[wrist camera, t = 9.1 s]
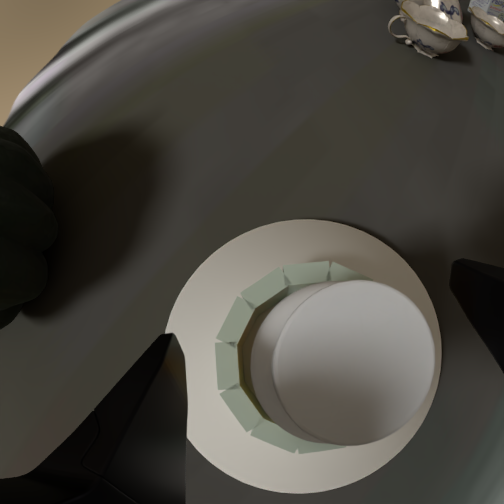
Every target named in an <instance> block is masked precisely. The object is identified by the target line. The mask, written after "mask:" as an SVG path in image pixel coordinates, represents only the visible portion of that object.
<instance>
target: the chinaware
mask: <svg viewBox="0 0 504 504" xmlns="http://www.w3.org/2000/svg"><path fill="white" fill-rule="evenodd" d="M395 2H396V4H397V5H398V7H399V8H400V10H399V14H400V15H398V16H394V17H393V18H392V19H391V20H390V21H389V24H388V30H389V32H390V34H391V35H392V36H394V37H396V38H402V37H406V38H408V39H406V40H405V42H406V44H407V45H411V44H412V41H413V42H414V43H415V44H412V45H413V46H414V47H415V48H416V50H417V52H419V53H422V54H424V55H426V56H429V57H430V58H432V57H435V56H438V55H437V54H444V53H448V52H450V51H452V50H454V49H455V48H456V47H457V46H458V45H459V44H460V43H461V42H462V41H464V42H467V41H468V39H469V37H468V36H467V29H466V28H465V26H464V25H463V24H462V21H463V15H462V11H461V8H460V5H459V1H458V0H395ZM468 9H469V11H470V12H471V25H472V29H473V31H474V33H475V35H476V36H477V37H478V38H476V37H475V38H476V40H477V42H478V43H479V44H481V45H482V46H483V47H485V48H486V49H489V50H492V48H491V47H493V48H502V47H504V23H503V22H502V21H501V20H500V19H499V18H497V17H495V16H491V15H487V13H486V12H485V11H484V10H482V9H481V8H479V7H475V6H474V7H472V8H471V7H469V8H468ZM398 18H400V19H401V21H402V22H404V26H405V29H406V32H407V34H408V35H409V37H408V36H406V35H394V34H393V33H392V31H391V25H392V23H393V22H394V21H395V20H396V19H398ZM403 18H404V19H403ZM492 51H493V50H492Z"/></svg>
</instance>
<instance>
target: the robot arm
mask: <svg viewBox="0 0 504 504" xmlns="http://www.w3.org/2000/svg"><path fill="white" fill-rule="evenodd" d="M449 286H450V289H451V291H452V293H453V294H454V296H455V298H456V299H457V301H458V302H459V304H460V306H461V308H462V309H463V311H464V313H465V314H466V316H467V318H468V319H469V321H470V323H471V324H472V326H473V327H474V329H475V330H476V332H477V333H478V334H479V336H480V337H481V339H482V340H483V342H484V343H485V345H486V346H487V348H488V349H489V351H490V352H491V354H492V355H493V357H494V359H495V360H496V362H497V363H498V365H499V366H500V368H501V370H502V371H503V373H504V268H501V267H497V266H493V265H489V264H485V263H480V262H476V261H472V260H468V259H464V258H462V259H458V260H456V261H454V262H453V263H452V265H451V273H450V280H449ZM187 418H188V394H187V380H186V363H185V356H184V353H183V350H182V348H181V346H180V344H179V341H178V339H177V337H176V335H175V334H174V333H166V334H161V335H160V336H159V337H158V338H157V339H156V340H155V341H154V342H153V343H152V344H151V346H150V347H149V348H148V349H147V350H146V351H145V352H144V353H143V355H142V356H141V357H140V358H139V359H138V360H137V361H136V362H135V363H134V365H133V366H132V367H131V368H130V369H129V370H128V371H127V372H126V374H125V375H124V376H123V377H122V378H121V379H120V380H119V382H118V383H117V384H116V385H115V386H114V387H113V388H112V389H111V391H110V392H109V393H108V394H107V395H106V396H105V397H104V398H103V400H102V401H101V402H100V403H99V404H98V405H97V406H96V408H95V409H94V411H92V412H91V413H90V414H89V415H88V417H87V418H86V419H85V420H84V421H83V422H82V423H81V424H80V425H79V427H78V428H77V429H76V430H75V431H74V432H73V433H72V434H71V435H70V436H69V437H68V438H67V439H66V440H65V441H64V442H63V443H62V444H61V445H60V446H59V447H57V448H56V449H55V450H54V451H53V452H52V453H51V454H50V455H49V456H48V457H47V458H46V459H45V460H44V461H43V462H42V463H41V464H40V465H38V466H37V467H36V468H35V469H34V470H32V471H31V472H29V473H27V474H25V475H22V476H19V477H13V478H5V479H0V504H185V490H186V443H187Z"/></svg>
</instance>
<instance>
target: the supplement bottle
mask: <svg viewBox="0 0 504 504" xmlns="http://www.w3.org/2000/svg"><path fill="white" fill-rule="evenodd" d="M434 369H435V346H434V340H433V336H432V333H431V330H430V327H429V325H428V322H427V321H426V319H425V317H424V315H423V314H422V312H421V311H420V310H419V308H418V307H417V306H416V304H415V303H414V302H413V301H411V300H410V299H409V298H408V297H407V296H406V295H404V294H403V293H402V292H400V291H398V290H397V289H395V288H393V287H391V286H388V285H386V284H383V283H379V282H376V281H370V280H349V281H327V282H320V283H316V284H312V285H309V286H306V287H303V288H301V289H299V290H297V291H295V292H293V293H292V294H290V295H289V296H287V297H286V298H284V299H283V300H282V301H281V302H279V303H278V304H277V305H276V306H275V307H274V308H273V309H272V311H271V312H270V313H269V314H268V315H267V317H266V318H265V320H264V321H263V323H262V324H261V326H260V328H259V330H258V332H257V335H256V337H255V340H254V344H253V348H252V352H251V369H250V370H251V378H252V384H253V387H254V390H255V394H256V396H257V398H258V401H259V403H260V404H261V406H262V408H263V409H264V411H265V412H266V413H267V415H268V416H269V417H270V418H271V419H272V420H273V421H274V422H275V423H276V424H277V425H278V426H280V427H281V428H282V429H283V430H285V431H287V432H288V433H290V434H291V435H294V436H296V437H298V438H301V439H303V440H306V441H310V442H315V443H324V444H334V445H339V446H359V445H364V444H369V443H372V442H375V441H378V440H381V439H383V438H385V437H387V436H389V435H391V434H393V433H394V432H396V431H397V430H399V429H400V428H401V427H403V426H404V425H405V424H406V423H407V422H408V421H409V420H410V419H411V418H412V417H413V416H414V415H415V414H416V412H417V411H418V409H419V408H420V407H421V405H422V404H423V402H424V400H425V398H426V396H427V394H428V392H429V389H430V387H431V384H432V380H433V376H434Z"/></svg>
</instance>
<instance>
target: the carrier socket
mask: <svg viewBox="0 0 504 504" xmlns="http://www.w3.org/2000/svg"><path fill="white" fill-rule="evenodd" d="M349 280H370V281H376V282H379V283H383V284H386V285H388V286H391V287H393V288H395V289H397V290H398V291H400V292H402V293H403V294H404V295H406V296H407V297H408V298H409V299H410V300H411V301H413V302H414V303H415V304H416V306H417V307H418V308H419V310H420V311H421V312H422V314H423V315H424V317H425V319H426V321H427V322H428V325H429V327H430V330H431V333H432V336H433V340H434V346H435V369H434V376H433V380H432V384H431V387H430V389H429V392H428V394H427V396H426V398H425V400H424V402H423V404H422V405H421V407H420V408H419V409H418V411H417V412H416V414H415V415H414V416H413V417H412V418H411V419H410V420H409V421H408V422H407V423H406V424H405V425H404V426H403V427H401V428H400V429H399V430H397V431H396V432H394V433H393V434H391V435H389V436H387V437H385V438H383V439H381V440H378V441H375V442H372V443H369V444H364V445H359V446H339V445H334V444H324V443H315V442H310V441H306V440H303V439H301V438H298V437H296V436H294V435H291V434H290V433H288V432H287V431H285V430H283V429H282V428H281V427H280V426H278V425H277V424H276V423H275V422H274V421H273V420H272V419H271V418H270V417H269V416H268V415H267V413H266V412H265V411H264V409H263V408H262V406H261V404H260V403H259V401H258V398H257V396H256V394H255V390H254V387H253V384H252V378H251V370H250V369H251V352H252V348H253V344H254V340H255V337H256V335H257V332H258V330H259V328H260V326H261V324H262V323H263V321H264V320H265V318H266V317H267V315H268V314H269V313H270V312H271V311H272V309H273V308H274V307H275V306H276V305H277V304H278V303H279V302H281V301H282V300H283V299H284V298H286V297H287V296H289V295H290V294H292V293H293V292H295V291H297V290H299V289H301V288H303V287H306V286H309V285H312V284H316V283H320V282H327V281H349ZM166 333H174V334H175V335H176V337H177V339H178V341H179V344H180V346H181V348H182V350H183V353H184V356H185V363H186V380H187V394H188V418H187V438H188V439H189V440H190V442H191V443H192V444H193V445H194V447H195V448H196V449H197V450H198V451H199V452H200V453H201V454H202V455H203V456H204V457H205V458H206V459H207V460H208V461H209V462H211V463H212V464H213V465H215V466H216V467H217V468H219V469H220V470H222V471H223V472H225V473H226V474H228V475H230V476H232V477H234V478H236V479H237V480H239V481H241V482H244V483H246V484H249V485H252V486H255V487H258V488H261V489H265V490H270V491H275V492H282V493H298V494H300V493H314V492H321V491H326V490H331V489H336V488H339V487H342V486H345V485H348V484H350V483H353V482H356V481H358V480H360V479H362V478H364V477H366V476H368V475H369V474H371V473H373V472H374V471H376V470H377V469H379V468H380V467H382V466H383V465H385V464H386V463H387V462H389V461H390V460H391V459H392V458H393V457H394V456H395V455H397V454H398V453H399V452H400V451H401V450H402V449H403V448H404V447H405V445H406V444H407V443H408V442H409V441H410V440H411V438H412V437H413V436H414V434H415V433H416V432H417V430H418V429H419V427H420V425H421V424H422V422H423V421H424V419H425V417H426V415H427V413H428V411H429V409H430V407H431V404H432V401H433V399H434V396H435V393H436V390H437V386H438V381H439V376H440V371H441V357H442V348H441V335H440V329H439V324H438V319H437V316H436V313H435V310H434V307H433V304H432V301H431V299H430V297H429V295H428V293H427V291H426V289H425V287H424V285H423V284H422V282H421V281H420V279H419V278H418V276H417V275H416V273H415V272H414V271H413V270H412V268H411V267H410V266H409V265H408V264H407V263H406V262H405V260H404V259H403V258H401V257H400V256H399V255H398V254H397V253H396V252H395V251H394V250H393V249H391V248H390V247H389V246H387V245H386V244H384V243H383V242H381V241H380V240H378V239H377V238H375V237H373V236H371V235H369V234H367V233H365V232H363V231H361V230H358V229H356V228H353V227H350V226H347V225H344V224H339V223H335V222H331V221H323V220H313V219H305V220H289V221H282V222H276V223H272V224H269V225H265V226H261V227H258V228H256V229H253V230H251V231H249V232H246V233H244V234H242V235H240V236H238V237H236V238H235V239H233V240H231V241H229V242H228V243H226V244H225V245H224V246H222V247H221V248H219V249H218V250H217V251H215V252H214V253H213V254H212V255H211V256H210V257H209V258H208V259H206V260H205V261H204V262H203V263H202V264H201V265H200V266H199V267H198V269H197V270H196V271H195V272H194V274H193V275H192V276H191V277H190V279H189V280H188V281H187V283H186V285H185V286H184V288H183V289H182V291H181V293H180V294H179V296H178V298H177V300H176V303H175V305H174V307H173V309H172V311H171V314H170V318H169V321H168V324H167V328H166V332H165V334H166Z"/></svg>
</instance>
